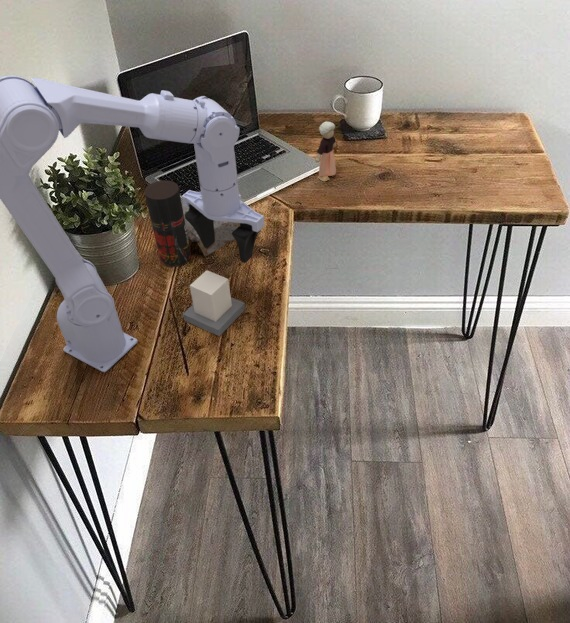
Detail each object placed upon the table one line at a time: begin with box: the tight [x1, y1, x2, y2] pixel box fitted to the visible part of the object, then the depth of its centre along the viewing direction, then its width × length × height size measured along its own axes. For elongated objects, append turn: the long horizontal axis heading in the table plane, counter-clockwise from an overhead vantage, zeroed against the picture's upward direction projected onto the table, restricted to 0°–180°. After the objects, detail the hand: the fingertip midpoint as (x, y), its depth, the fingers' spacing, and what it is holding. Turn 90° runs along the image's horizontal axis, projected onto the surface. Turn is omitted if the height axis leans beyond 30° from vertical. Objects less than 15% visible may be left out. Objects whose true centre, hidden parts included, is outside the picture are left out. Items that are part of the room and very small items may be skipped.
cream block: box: [189, 269, 232, 322], centre depth 105 cm, size 4×4×6 cm
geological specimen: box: [182, 199, 249, 257], centre depth 124 cm, size 11×6×15 cm
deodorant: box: [143, 179, 192, 268], centre depth 115 cm, size 6×6×15 cm
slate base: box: [182, 296, 246, 337], centre depth 108 cm, size 8×8×2 cm
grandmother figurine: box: [314, 121, 337, 182], centre depth 134 cm, size 8×4×13 cm, turn 158°
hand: (227, 251), depth 105 cm, fingers open, 7 cm apart
